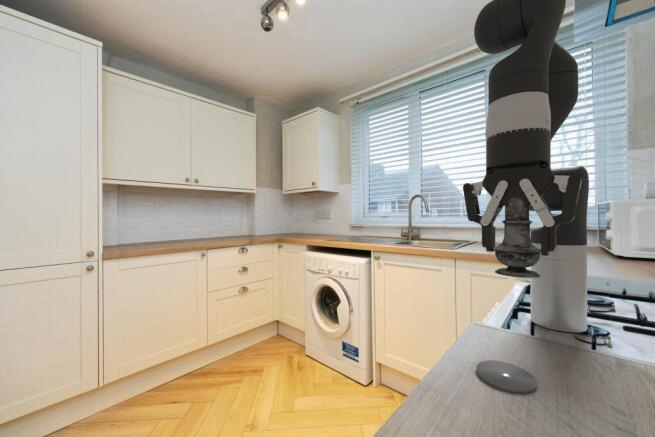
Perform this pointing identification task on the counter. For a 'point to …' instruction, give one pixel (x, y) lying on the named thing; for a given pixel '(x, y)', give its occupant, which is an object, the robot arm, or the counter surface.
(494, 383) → the coaster
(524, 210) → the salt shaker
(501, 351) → the counter surface
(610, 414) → the counter surface
